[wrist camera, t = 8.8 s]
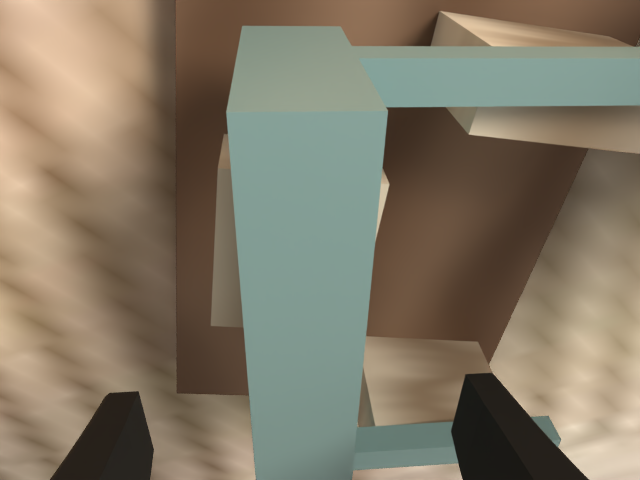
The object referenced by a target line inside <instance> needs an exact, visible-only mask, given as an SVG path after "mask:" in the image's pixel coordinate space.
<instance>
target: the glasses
mask: <svg viewBox="0 0 640 480" xmlns="http://www.w3.org/2000/svg"><path fill="white" fill-rule="evenodd" d="M622 105H640V47H522V46H351V44H350V42H349V40H348V39H347V37H346V35H345V33H344V31H343V30H342V28H341V26H242V30H241V35H240V41H239V46H238V52H237V57H236V62H235V68H234V73H233V79H232V84H231V89H230V95H229V100H228V106H227V111H226V115H227V127H228V140H229V152H230V165H231V177H232V190H233V202H234V214H235V227H236V239H237V254H238V266H239V276H240V289H241V301H242V314H243V326H244V338H245V351H246V363H247V376H248V388H249V400H250V413H251V425H252V438H253V450H254V462H255V475H256V480H352V474H353V470H364V469H379V468H394V467H409V466H424V465H439V464H454V463H458V459H457V455H456V451H455V447H454V443H453V438H452V434H451V429H452V425H453V422H438V423H421V424H404V425H388V426H371V427H357V423H358V413H359V402H360V392H361V382H362V372H363V361H364V351H365V341H366V331H367V321H368V310H369V300H370V290H371V280H372V269H373V259H374V249H375V239H376V228H377V218H378V208H379V198H380V188H381V177H382V167H383V157H384V147H385V136H386V126H387V116H388V110H387V108H386V107H493V106H622ZM531 418H532V419H533V420H534V422H535V423H536V424H537V425H538V426H539V427H540V428H541V429H542V431H543V432H544V433H545V434H546V435H547V436H548V437H549V438H550V439H551V440H552V442H553V443H554V444H555V445H556V446H557V447H558V446H559V444H560V441H561V438H560V437H559V435H558V433H557V431H556V429H555V427H554V425H553V424H552V422H551V420H550V418H549V416H538V417H531Z"/></svg>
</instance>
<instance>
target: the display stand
mask: <svg viewBox="0 0 640 480" xmlns="http://www.w3.org/2000/svg"><path fill="white" fill-rule="evenodd" d="M175 3H176V318H177V393H186V394H220V395H249V388H248V376H247V363H246V351H245V338H244V326H243V314H242V301H241V289H240V276H239V266H238V254H237V239H236V227H235V214H234V202H233V190H232V177H231V165H230V152H229V140H228V127H227V115H226V111H227V106H228V100H229V95H230V89H231V84H232V79H233V73H234V68H235V62H236V57H237V52H238V46H239V41H240V35H241V30H242V26H341V28H342V30H343V31H344V33H345V35H346V37H347V39H348V40H349V42H350V44H351V46H522V47H636V44H637V42H638V40H639V38H640V0H175ZM386 108H387V110H388V116H387V126H386V136H385V147H384V157H383V167H382V177H381V188H380V198H379V208H378V218H377V228H376V239H375V249H374V259H373V269H372V280H371V290H370V300H369V310H368V321H367V331H366V341H365V351H364V361H363V372H362V382H361V392H360V402H359V413H358V425H359V427H371V426H388V425H404V424H421V423H438V422H453V421H454V417H455V413H456V409H457V405H458V401H459V397H460V393H461V390H462V386H463V382H464V378H465V374H476V373H492V371H491V369H490V367H489V363H490V361H491V359H492V357H493V354H494V352H495V350H496V348H497V346H498V344H499V341H500V339H501V337H502V335H503V333H504V331H505V328H506V326H507V324H508V322H509V320H510V318H511V315H512V313H513V311H514V309H515V307H516V305H517V302H518V300H519V298H520V296H521V294H522V292H523V289H524V287H525V285H526V283H527V281H528V278H529V276H530V274H531V272H532V270H533V268H534V265H535V263H536V261H537V259H538V257H539V255H540V252H541V250H542V248H543V246H544V244H545V242H546V239H547V237H548V235H549V233H550V231H551V229H552V226H553V224H554V222H555V220H556V218H557V216H558V213H559V211H560V209H561V207H562V205H563V203H564V200H565V198H566V196H567V194H568V192H569V190H570V187H571V185H572V183H573V181H574V179H575V177H576V174H577V172H578V170H579V168H580V166H581V164H582V161H583V159H584V157H585V155H586V153H587V151H588V148H592V149H601V150H609V151H618V152H627V153H636V154H640V105H622V106H493V107H386Z"/></svg>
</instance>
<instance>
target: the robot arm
mask: <svg viewBox="0 0 640 480" xmlns="http://www.w3.org/2000/svg"><path fill="white" fill-rule="evenodd" d="M451 434H452V438H453V443H454V447H455V451H456V455H457V459H458V463H459V467H460V471H461V475H462V478H463V480H589V479H588V478H587V477H586V476H585V475H584V474H583V473H582V472H581V471H580V470H579V469H578V468H577V467H576V466H575V465H574V464H573V463H572V462H571V461H570V460H569V459H568V458H567V456H566V455H565V454H564V453H563V452H562V451H561V450H560V449H559V448H558V447H557V446H556V445H555V444H554V443H553V442H552V440H551V439H550V438H549V437H548V436H547V435H546V434H545V433H544V432H543V431H542V429H541V428H540V427H539V426H538V425H537V424H536V423H535V422H534V420H533V419H532V418H531V417H530V416H529V415H528V414H527V412H526V411H525V410H524V409H523V408H522V407H521V406H520V404H519V403H518V402H517V401H516V400H515V399H514V397H513V396H512V395H511V394H510V393H509V392H508V390H507V389H506V388H505V387H504V386H503V385H502V383H501V382H500V381H499V380H498V379H497V378H496V376H495V375H494V374H493V373H476V374H465V378H464V382H463V386H462V390H461V393H460V397H459V401H458V405H457V409H456V413H455V417H454V421H453V425H452V429H451ZM153 452H154V449H153V445H152V441H151V437H150V434H149V430H148V426H147V422H146V418H145V414H144V410H143V407H142V403H141V399H140V395H139V391H137V392H119V393H109V394H108V395H107V396H106V397H105V398H104V399H103V401H102V403H101V404H100V406H99V408H98V409H97V411H96V412H95V414H94V416H93V417H92V419H91V420H90V422H89V423H88V425H87V426H86V428H85V430H84V431H83V433H82V434H81V436H80V437H79V439H78V440H77V442H76V443H75V445H74V446H73V448H72V449H71V451H70V452H69V454H68V455H67V457H66V458H65V459H64V461H63V462H62V464H61V465H60V466H59V468H58V469H57V471H56V472H55V473H54V475H53V476H52V478H51V479H50V480H150V476H151V468H152V460H153Z"/></svg>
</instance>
